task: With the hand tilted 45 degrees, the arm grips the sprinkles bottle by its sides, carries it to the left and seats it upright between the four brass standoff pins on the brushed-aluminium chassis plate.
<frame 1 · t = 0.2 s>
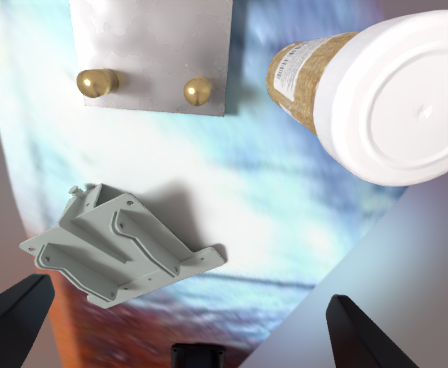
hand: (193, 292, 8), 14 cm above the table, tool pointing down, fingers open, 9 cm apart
sprinkles bottle: (296, 76, 19), on the table
metal bracket: (130, 239, 26), on the table
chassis: (155, 32, 18), on the table
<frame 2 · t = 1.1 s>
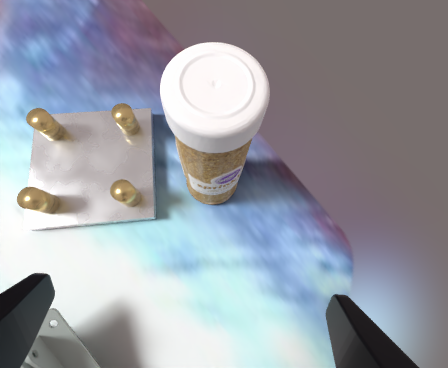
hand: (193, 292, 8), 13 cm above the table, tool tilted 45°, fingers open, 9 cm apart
sprinkles bottle: (212, 181, 24), on the table
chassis: (97, 167, 23), on the table
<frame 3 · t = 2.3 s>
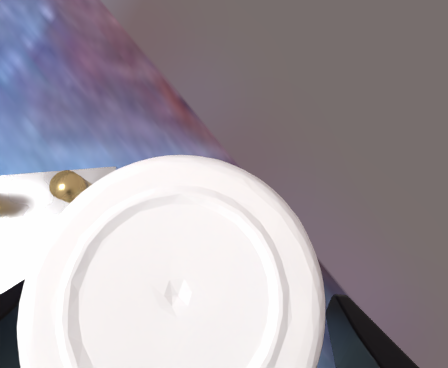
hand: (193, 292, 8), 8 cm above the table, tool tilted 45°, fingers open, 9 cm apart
sprinkles bottle: (201, 270, 17), on the table
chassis: (37, 254, 16), on the table
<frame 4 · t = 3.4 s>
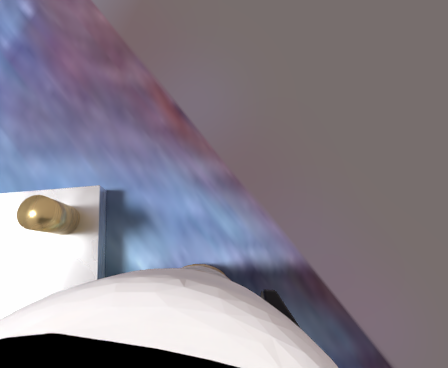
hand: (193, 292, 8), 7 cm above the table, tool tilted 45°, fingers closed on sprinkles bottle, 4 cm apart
sprinkles bottle: (198, 305, 15), on the table, touching gripper
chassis: (8, 287, 14), on the table
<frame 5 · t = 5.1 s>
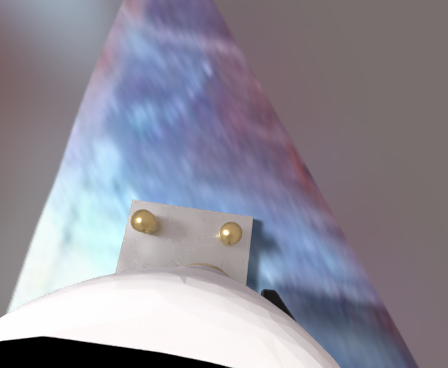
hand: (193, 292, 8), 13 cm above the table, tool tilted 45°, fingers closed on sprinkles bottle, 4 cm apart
sprinkles bottle: (199, 304, 15), point 7 cm above the table, touching gripper
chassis: (183, 271, 21), on the table
when the fingers open (9 cm above the table, at t = 6.6 s): sprinkles bottle drops 1 cm, resting on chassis.
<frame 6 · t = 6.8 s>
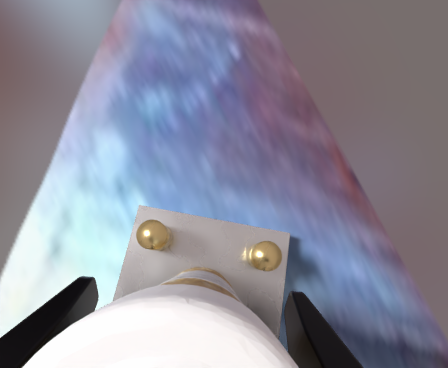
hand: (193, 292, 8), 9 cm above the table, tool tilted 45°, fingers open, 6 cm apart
sprinkles bottle: (199, 304, 16), point 1 cm above the table, touching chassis
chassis: (199, 298, 17), on the table
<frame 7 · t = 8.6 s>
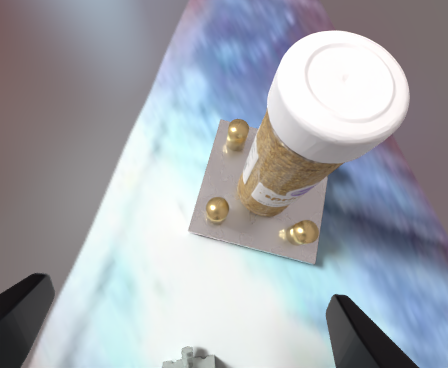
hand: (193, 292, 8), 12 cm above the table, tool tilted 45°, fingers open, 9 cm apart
sprinkles bottle: (264, 190, 22), point 1 cm above the table, touching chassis
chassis: (262, 189, 22), on the table
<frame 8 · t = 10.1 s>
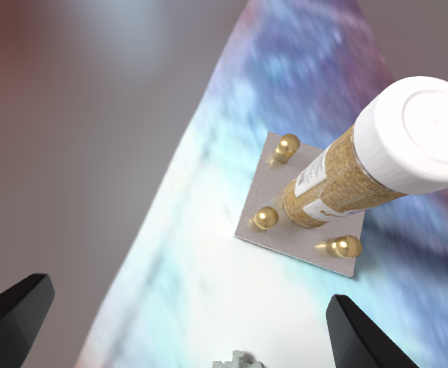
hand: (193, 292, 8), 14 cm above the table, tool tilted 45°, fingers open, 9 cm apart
sprinkles bottle: (306, 202, 23), point 1 cm above the table, touching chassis
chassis: (303, 201, 24), on the table
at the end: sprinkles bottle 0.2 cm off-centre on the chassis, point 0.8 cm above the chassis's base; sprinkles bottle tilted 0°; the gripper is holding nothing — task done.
